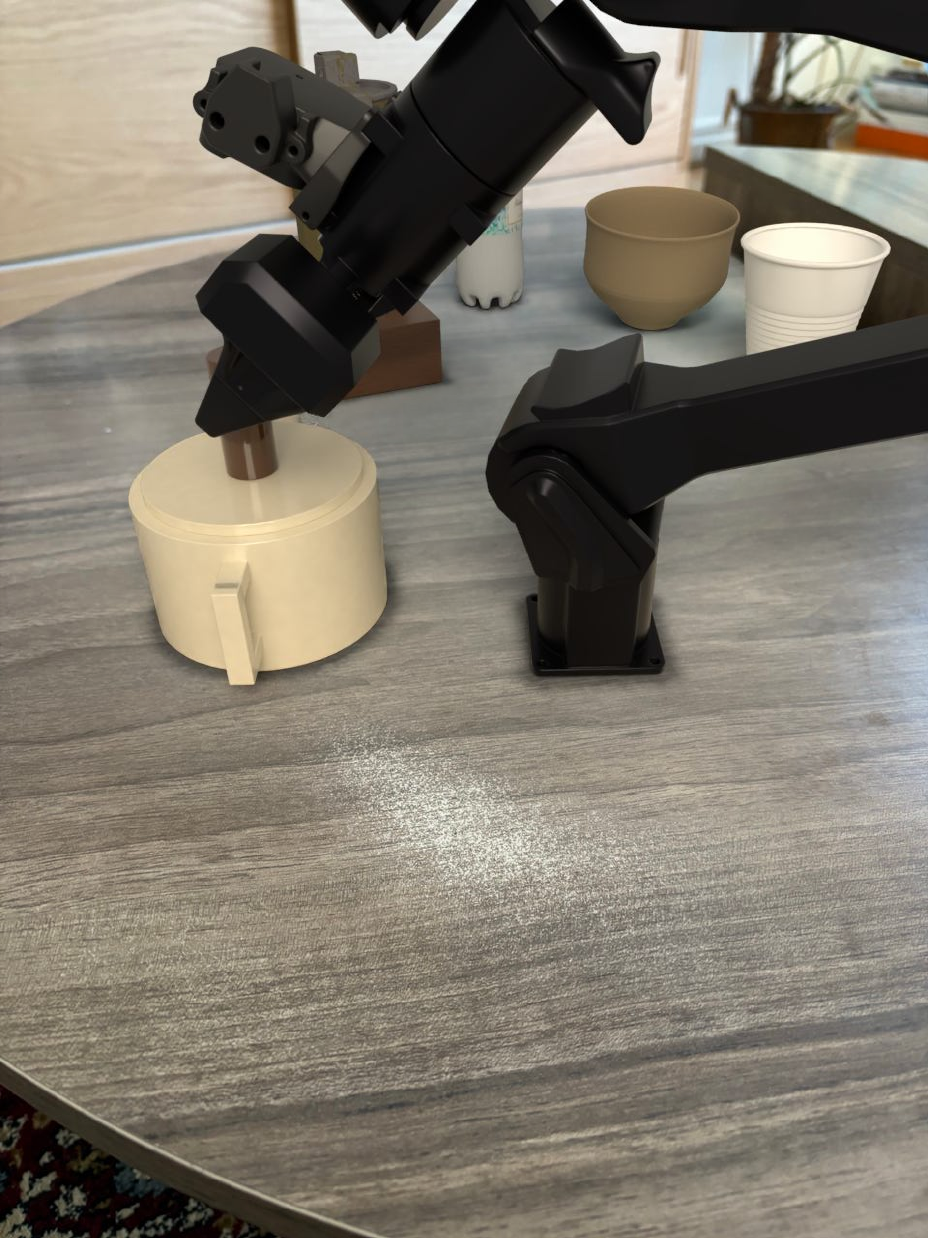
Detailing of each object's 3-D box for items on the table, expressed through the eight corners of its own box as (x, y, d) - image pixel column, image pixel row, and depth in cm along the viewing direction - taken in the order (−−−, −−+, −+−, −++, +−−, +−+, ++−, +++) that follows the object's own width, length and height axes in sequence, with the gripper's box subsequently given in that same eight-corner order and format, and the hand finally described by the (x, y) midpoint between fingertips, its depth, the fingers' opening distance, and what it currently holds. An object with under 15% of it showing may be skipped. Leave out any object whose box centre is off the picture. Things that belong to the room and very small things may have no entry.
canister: (288, 279, 100) (259, 51, 88) (385, 264, 103) (370, 42, 91) (323, 312, 92) (296, 66, 80) (426, 294, 95) (416, 55, 83)
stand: (442, 381, 78) (440, 319, 75) (331, 401, 76) (324, 337, 73) (406, 343, 85) (402, 284, 82) (303, 360, 83) (296, 300, 80)
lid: (406, 462, 51) (398, 337, 47) (259, 561, 44) (235, 423, 40) (250, 415, 56) (231, 299, 52) (95, 497, 49) (59, 369, 45)
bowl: (612, 359, 81) (620, 232, 75) (558, 308, 91) (562, 192, 85) (751, 340, 84) (770, 216, 78) (685, 293, 94) (697, 179, 88)
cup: (704, 404, 74) (723, 252, 67) (740, 358, 81) (761, 216, 74) (842, 429, 70) (877, 270, 63) (868, 378, 77) (901, 230, 70)
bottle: (520, 314, 90) (522, 63, 78) (447, 311, 91) (438, 63, 79) (531, 290, 95) (534, 51, 83) (462, 287, 96) (456, 51, 84)
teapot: (376, 705, 47) (362, 574, 43) (117, 710, 48) (77, 580, 43) (397, 499, 63) (389, 389, 59) (203, 504, 63) (180, 393, 59)
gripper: (383, -51, 44) (197, 206, 52) (200, -15, 29) (-16, 333, 38) (556, 147, 47) (354, 359, 55) (470, 270, 32) (213, 531, 41)
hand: (245, 386), depth 47 cm, fingers open, 9 cm apart
